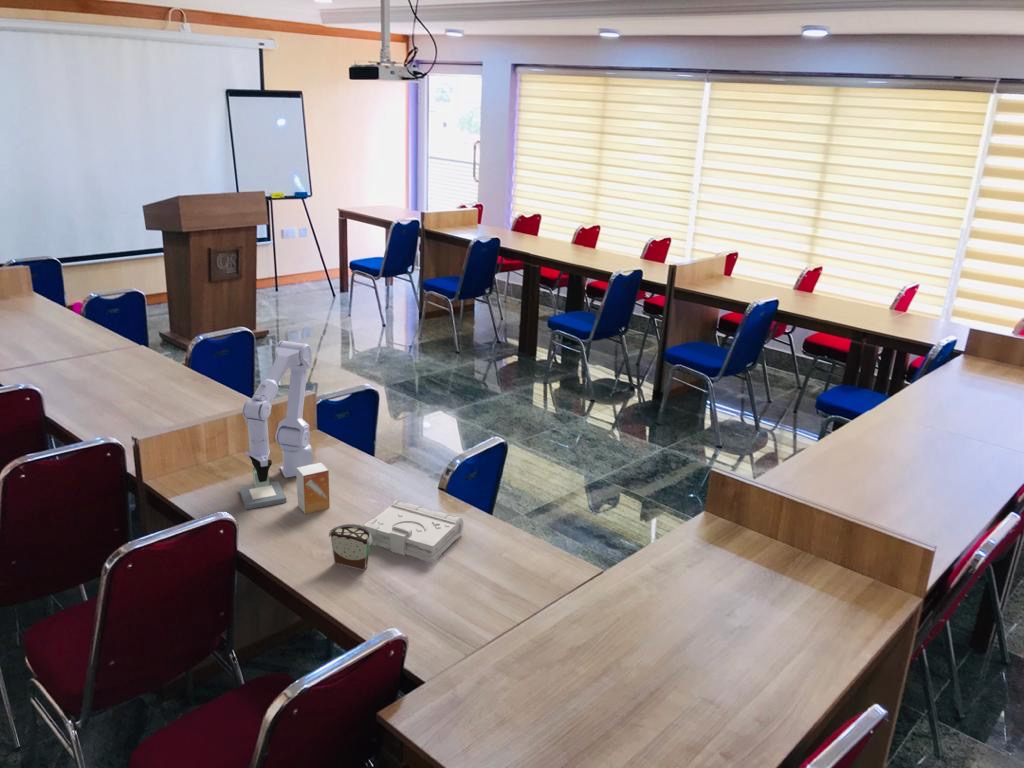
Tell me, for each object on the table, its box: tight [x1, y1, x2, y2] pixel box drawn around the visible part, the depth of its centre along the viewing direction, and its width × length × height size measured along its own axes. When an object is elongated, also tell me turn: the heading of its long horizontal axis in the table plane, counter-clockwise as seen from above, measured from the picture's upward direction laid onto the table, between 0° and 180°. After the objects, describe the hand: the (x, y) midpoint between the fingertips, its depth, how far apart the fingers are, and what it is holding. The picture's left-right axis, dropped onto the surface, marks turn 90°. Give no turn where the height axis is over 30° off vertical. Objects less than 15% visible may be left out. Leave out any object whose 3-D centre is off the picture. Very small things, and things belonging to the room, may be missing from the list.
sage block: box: [252, 467, 270, 488], centre depth 259 cm, size 4×4×5 cm
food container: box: [328, 523, 372, 571], centre depth 228 cm, size 12×6×10 cm, turn 71°
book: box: [363, 499, 464, 564], centre depth 242 cm, size 19×28×8 cm
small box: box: [295, 462, 331, 514], centre depth 255 cm, size 8×6×13 cm
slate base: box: [238, 480, 288, 510], centre depth 261 cm, size 12×12×2 cm
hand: (261, 478), depth 259 cm, fingers closed on sage block, 4 cm apart
